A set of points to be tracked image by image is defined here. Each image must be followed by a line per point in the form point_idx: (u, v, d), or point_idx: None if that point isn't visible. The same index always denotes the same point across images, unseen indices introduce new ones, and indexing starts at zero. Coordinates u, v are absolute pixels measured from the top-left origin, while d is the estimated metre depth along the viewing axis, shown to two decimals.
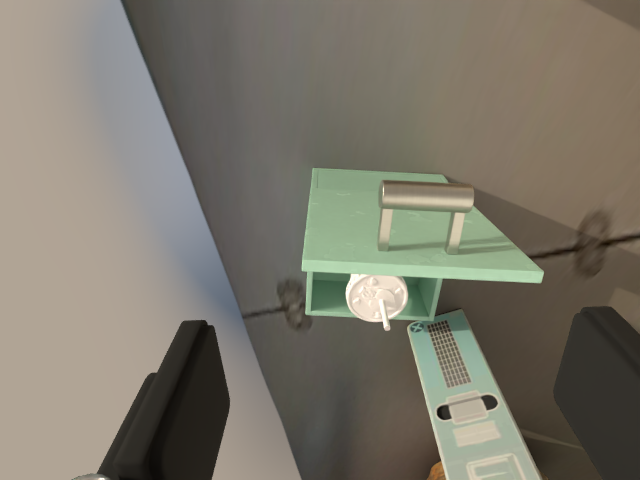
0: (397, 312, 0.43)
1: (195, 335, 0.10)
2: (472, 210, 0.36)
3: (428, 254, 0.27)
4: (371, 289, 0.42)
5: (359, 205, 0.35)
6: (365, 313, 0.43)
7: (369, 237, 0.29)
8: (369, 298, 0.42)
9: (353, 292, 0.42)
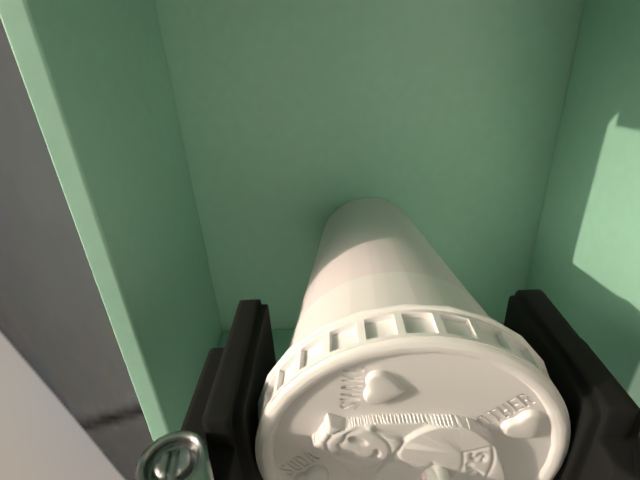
0: None
1: (254, 312, 0.10)
2: None
3: None
4: (374, 427, 0.08)
5: None
6: None
7: None
8: (370, 466, 0.08)
9: (285, 443, 0.08)
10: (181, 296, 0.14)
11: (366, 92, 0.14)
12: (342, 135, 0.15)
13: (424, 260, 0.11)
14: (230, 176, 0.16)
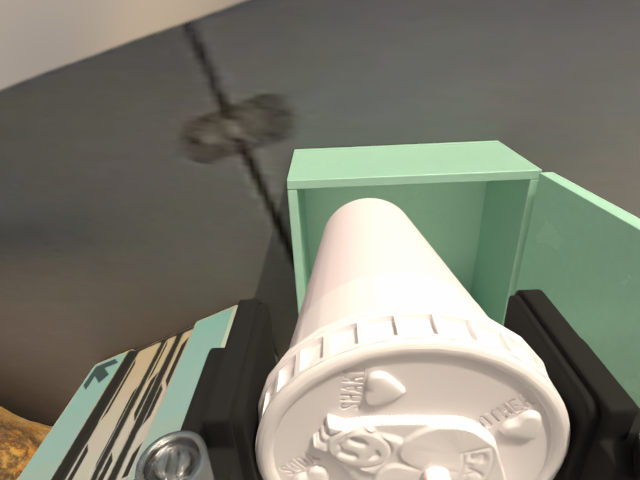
0: None
1: (254, 312, 0.10)
2: None
3: None
4: (374, 428, 0.08)
5: None
6: None
7: None
8: (370, 467, 0.08)
9: (285, 444, 0.08)
10: None
11: (432, 233, 0.34)
12: (415, 224, 0.33)
13: (424, 260, 0.11)
14: None
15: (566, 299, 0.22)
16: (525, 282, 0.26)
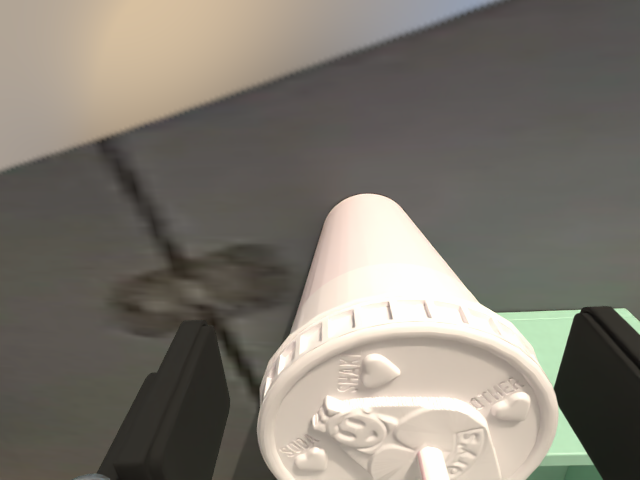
0: None
1: (195, 335, 0.10)
2: None
3: None
4: (371, 409, 0.08)
5: None
6: None
7: None
8: (367, 448, 0.09)
9: (285, 425, 0.09)
10: None
11: None
12: None
13: (420, 252, 0.11)
14: None
15: None
16: None
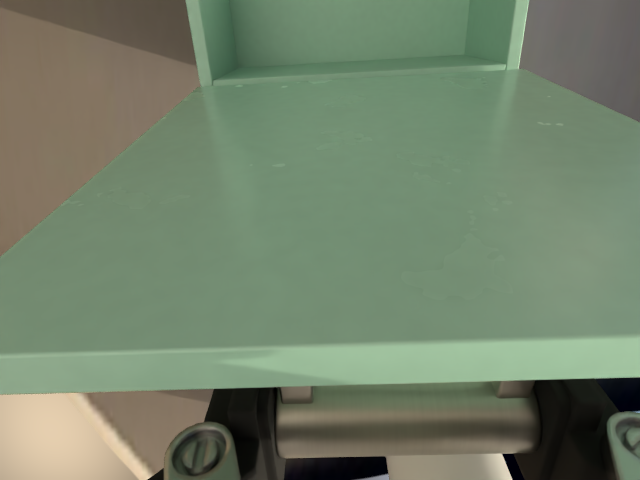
0: None
1: None
2: None
3: None
4: None
5: None
6: None
7: None
8: None
9: None
10: None
11: None
12: None
13: None
14: None
15: (415, 102, 0.15)
16: (366, 81, 0.18)
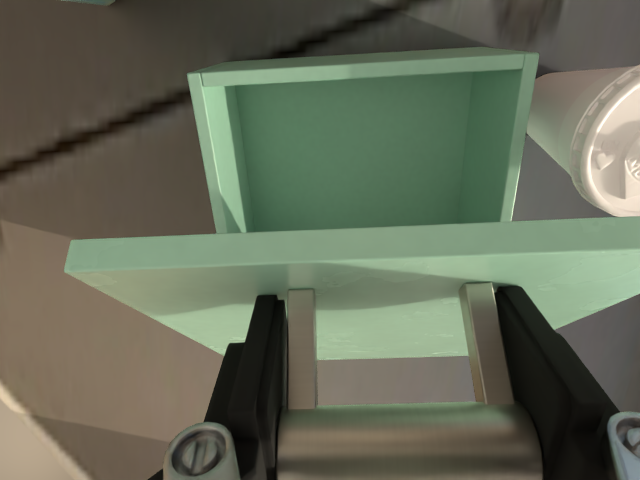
0: (606, 203, 0.17)
1: (272, 307, 0.10)
2: (225, 350, 0.20)
3: (362, 284, 0.10)
4: None
5: (433, 343, 0.19)
6: (617, 122, 0.16)
7: None
8: None
9: None
10: (484, 150, 0.22)
11: None
12: (369, 209, 0.27)
13: None
14: (436, 187, 0.26)
15: None
16: None
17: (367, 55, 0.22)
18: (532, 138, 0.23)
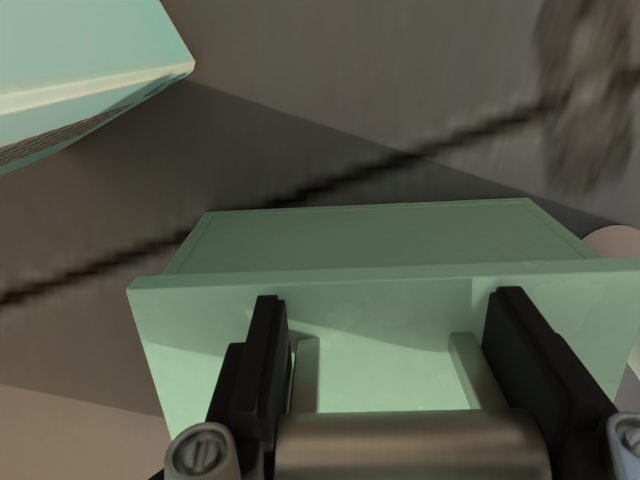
0: None
1: (273, 307, 0.10)
2: None
3: (360, 331, 0.12)
4: None
5: None
6: None
7: None
8: None
9: None
10: None
11: None
12: None
13: None
14: None
15: None
16: None
17: (385, 220, 0.17)
18: None
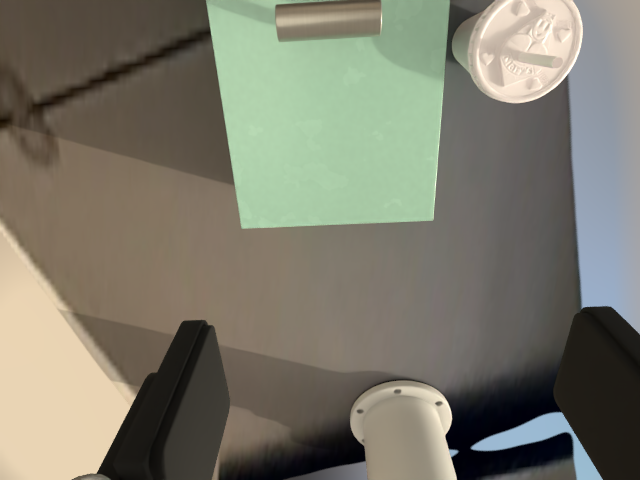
0: (492, 90, 0.25)
1: (195, 335, 0.10)
2: (240, 172, 0.30)
3: None
4: (549, 32, 0.24)
5: (376, 163, 0.29)
6: (493, 30, 0.24)
7: (375, 53, 0.26)
8: (531, 32, 0.24)
9: None
10: None
11: None
12: None
13: None
14: None
15: None
16: None
17: None
18: (461, 64, 0.32)
